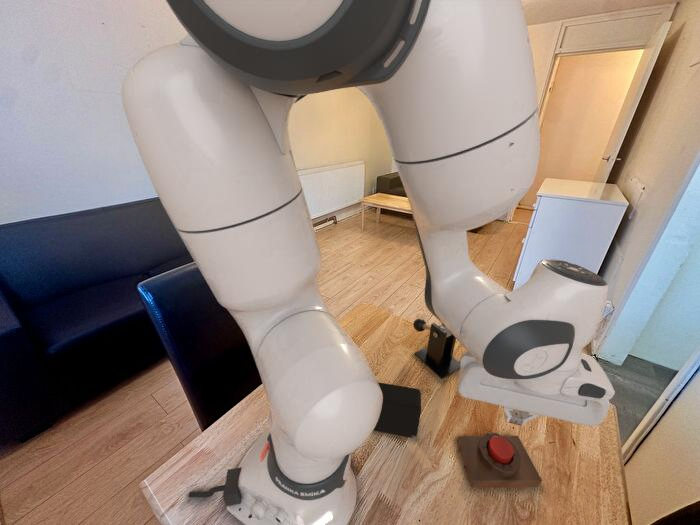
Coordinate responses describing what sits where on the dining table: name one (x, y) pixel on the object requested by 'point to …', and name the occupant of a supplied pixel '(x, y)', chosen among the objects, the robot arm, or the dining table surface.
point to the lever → (427, 326)
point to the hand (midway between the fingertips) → (513, 420)
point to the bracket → (439, 352)
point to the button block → (497, 464)
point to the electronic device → (399, 410)
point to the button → (500, 449)
